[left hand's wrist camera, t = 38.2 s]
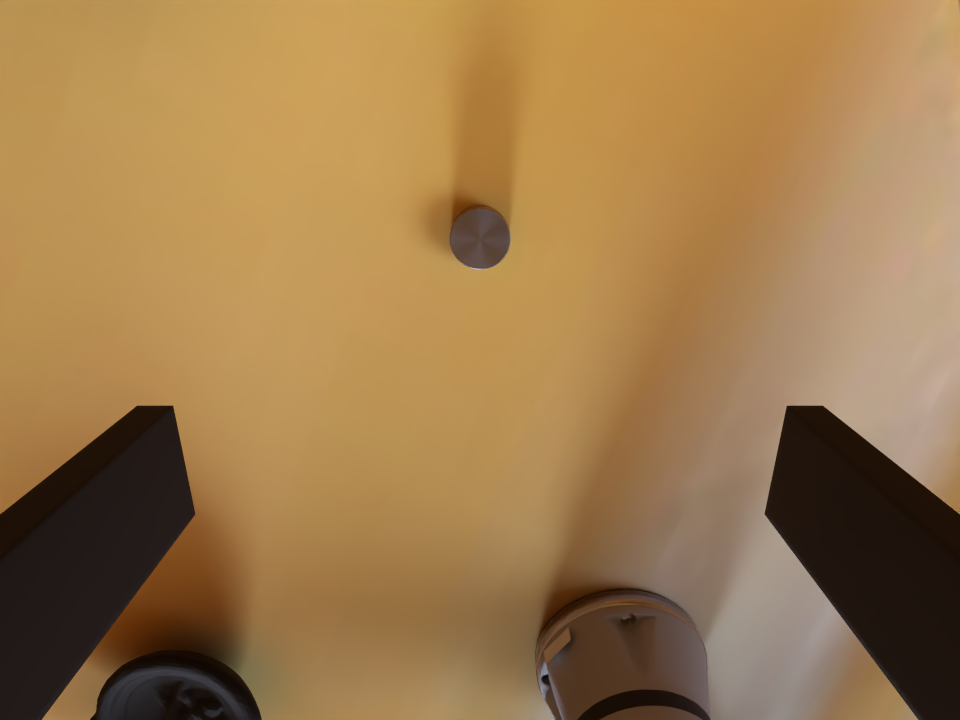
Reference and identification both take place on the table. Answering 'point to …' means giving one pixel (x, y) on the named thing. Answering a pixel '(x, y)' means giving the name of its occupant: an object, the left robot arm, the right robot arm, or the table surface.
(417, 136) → the table surface
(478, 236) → the cap
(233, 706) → the oil lamp
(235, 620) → the table surface
